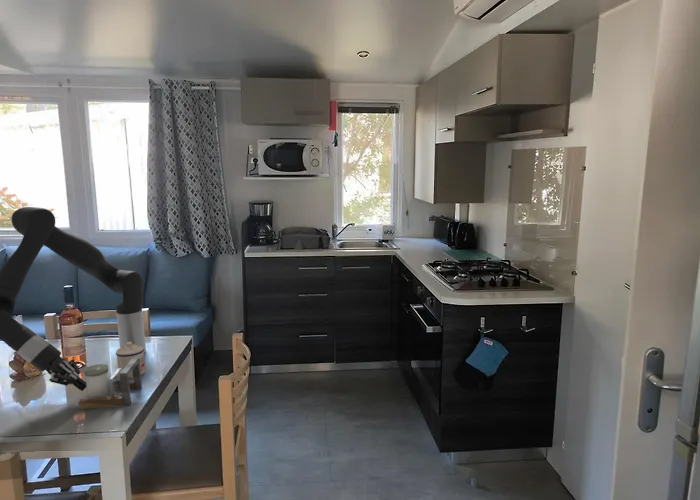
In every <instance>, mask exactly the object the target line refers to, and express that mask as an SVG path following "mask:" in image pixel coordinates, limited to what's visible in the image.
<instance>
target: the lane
mask: <svg viewBox="0 0 700 500" xmlns="http://www.w3.org/2000/svg"><path fill="white" fill-rule="evenodd" d="M132 371H133V378H132V379H134V383H130V384H129V380H130V379H129V374H130V373H131V372H132ZM120 383H121V395H120V396H119V397H106V398H93V399H88V398H83V399H82V398H81V399H80V400H79V401H78V407H79V410H88V409H89V410H90V409H102V408H114V407H115V408H117V406H118V407H129V406H131V404H132V400H131V399H132V397H131V391H133V390H134V391H136V390H141V389H142V388H143V384H142V375H141V372H140V361H139V357H134V358H132V359H131V360H130V361H129V363H128V364H127V365H126V366H125V368H124V369H123V370H122V371H121V372H120Z"/></svg>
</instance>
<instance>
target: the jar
mask: <svg viewBox="0 0 700 500" xmlns="http://www.w3.org/2000/svg"><path fill="white" fill-rule="evenodd" d="M83 372H84V378H85V382H86V394H87V399H93V398H106V397H111V394H110V384H109V379H110V378H109V377H110V376H109V365H108V364H105V363H98V364H93V365H90V366H87V367H86V368H84V370H83Z"/></svg>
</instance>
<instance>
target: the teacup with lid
mask: <svg viewBox="0 0 700 500" xmlns="http://www.w3.org/2000/svg"><path fill="white" fill-rule="evenodd" d="M143 351H144V348H143V347H142V346H140V345H135V344H132V342H127V343H126V345H125V346H124V347H122V348H120V347H119V348H118V349H117V350H116V352H115V355H116V362H117V369H118V368H122V370H123V369H124V368H125V366H126V365H127V364H128V363H129V361H130V360H131V359H132V358H134V357H139V361H140V372H141V376H143V375H144V374H145V373H146V364H145V355H144V354H145V353H144V352H143ZM131 379H133V371H132V372H131V373H130V374H129V380H131Z"/></svg>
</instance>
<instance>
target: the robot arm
mask: <svg viewBox="0 0 700 500" xmlns="http://www.w3.org/2000/svg"><path fill="white" fill-rule="evenodd" d="M10 220H11V224H12V226H13V228H14V229H15V230H16V232H17V233H19V234H21V235H23V237H22V240H21V242H20V243H19V245H18V247H17V248H16V250H15V251H14V252H13V253H12V255H11V256H9V258H8V259H7V260H6V261H5V262H4V264H3V265H2V266H1V268H0V340H1V341H2V342H3V343H4V344H6V346H8V347H10V348H11V349H12V350H14V351H15V352H16V353H17V354H18V355H19V356H20V357H22V359H24V360H25V361H26V362H28V363H29V364H30V365H32V366H33V367H35V368H36V369H37V370H38V371H40V372H42V373H43V372H45V371H46V372H47V374H49V375H50V378H49V379H48V381H49V382H50V383H53V384H58V385H62V386H69V385H73V386H74V387H75V388H77V389H78V390H79V391H81V392H82V391H84V390H85V389H87V387H86V380H84V379H82V378H81V377H80V374H81V371H80V369H79V367H78V365H77V363H76V361H75V359H71V360H67V359H66V358H63V357H61V355H62V352H61V350H59V349H58V348H57V347H55V346H54V345H53V344H52V343H50V342H49V341H47V340H46V339H45V338H44V337H41V336H40V335H38V334H37V333H36V332H34V331H33V330H32V329H30V328H29V327H27V326H26V325H24V324H22V323H20V322H19V321H17V320H16V319H15V318H14V317H12V316H13V313H14V309H15V306H16V302H17V298H18V296H19V294H20V292H21V289H22V287H23V285H24V283H25V280H26V278H27V275H28V274H29V271H30V269H31V268H32V266H33V264H34V261H35V260H36V258H37V256H38V255H39V253H40V252H41V250H42V249H43V247H46V248H48V250H50V251H51V252H53V253H54V254H56V255H57V256H59V257H60V258H63V260H65V261H66V262H68V263H70V264H71V265H72V266H74V267H76V268H78V269H79V270H81V271H83V272H85V273H86V274H87V275H88V276H89V275H90V276H91V277H93V278H95V279H97V280H98V281H99V282H101V283H102V285H104V286H105V287H107V288H108V289H109V290H111V292H113V293H114V294H115V293H116V294H119V295H122V302H120V303H118V304H116V306H115V312H116V320H117V321H116V322H117V331H118V341H119V349H120V348H122V347H124V346H125V345H126V343H127V342H132V344H135V345H140V346H142V347H143V348H144V351H143V352H144V354H145V353H146V351H147V349H146V347H147V346H146V339H145V338H146V337H145V326H144V315H143V305H144V304H143V303H144V284H143V281H144V280H143V278H142V276H141V274H140V273H139V272H138V271H134V270H124V269H120V268H118V267H116V266H114V265H112V264H111V263H110V262H108V261H107V260H106V259H105V257H104V254H103V253H102V252H101V250H100V249H99V248H98V247H96V246H94V245H93V244H92V243H90V242H89V241H87V240H86V239H84V238H82V237H80V236H78V235H76V234H72V233H71V232H68V231H65V230H63V229H61V228H59V227H57V226H56V217H55V214H54V213H53V212H52V211H51V210H49V209H47V208H43V207H34V206H33V207H32V206H26V207H21V208H20V207H19V208H18V209H16V210H15V211H14V212H13V213H12V215H11V219H10Z"/></svg>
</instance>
